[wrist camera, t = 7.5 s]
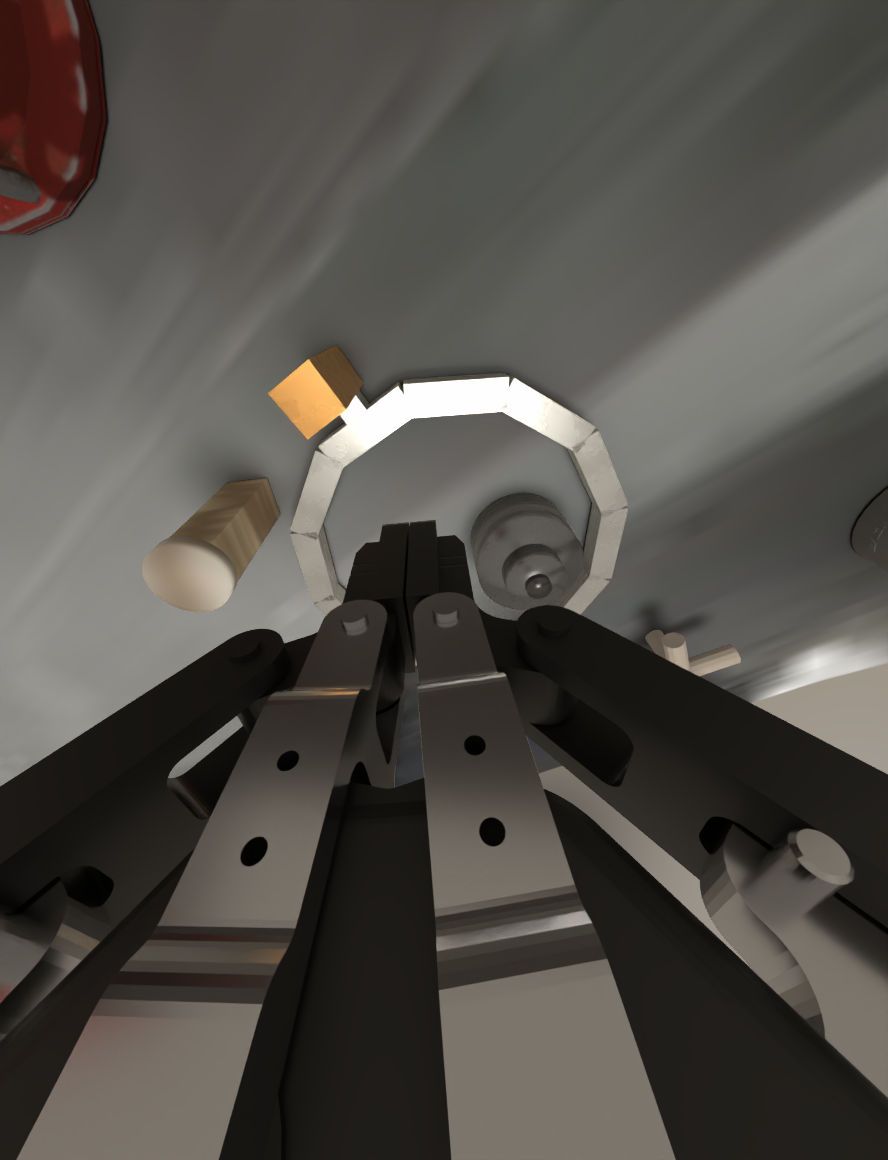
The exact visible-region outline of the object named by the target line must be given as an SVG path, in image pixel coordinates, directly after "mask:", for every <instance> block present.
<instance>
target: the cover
mask: <svg viewBox="0 0 888 1160" xmlns="http://www.w3.org/2000/svg"><path fill="white" fill-rule="evenodd" d="M471 548H472V552H473V556H474V561H475V565H476V569H477V574H478V578H479V582H480V585H481V587H482V589H483V591H484V592H485V594H486V595H487V596H488V597H489V598H490V599H491V600H493V601H494V602H496V603H497V604H499V605H502V606H504V607H508V608H512V609H531V608H533V607H537V606H543V605H548V604H550V603H552V602H553V601H555V600H556V599H558V598H560V597H561V596H562V595H564V594H565V593H566V592H567V591H568V590H569V589H570V588H571V587H572V586H573V584H574V583H575V582H576V580H577V578H578V576H579V575H580V572H581V569H582V565H583V551H582V547H581V544H580V542H579V540H578V539H577V537H576V536H575V535H574V533H573V532H572V530H571V529H570V527H569V526H568V524H567V523H566V522H565V520H564V519H563V517H562V516H561V514H560V513H559V512H558V510H557V509H556V507H555V506H554V505H553V504H552V503H551V502H549V501H548V500H547V499H545V498H543V497H541V496H538V495H534V494H528V493H518V494H512V495H508V496H505V497H502V498H500V499H498V500H496V501H494V502H493V503H491V504H490V505H489V506H487V507H486V508H485V509H484V510H483V511H482V513H481V514H480V515H479V516H478V518H477V519H476V521H475V523H474V525H473V528H472V532H471Z"/></svg>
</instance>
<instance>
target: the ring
mask: <svg viewBox="0 0 888 1160" xmlns="http://www.w3.org/2000/svg"><path fill="white" fill-rule="evenodd" d="M362 385H363V381H362V380H361V378H360V377H359V376H358V374H357V373H356V371H355V370H354V368H353V367H352V366H351V364H350V363H349V361H348V360H347V359H346V357H345V356H344V354H343V353H342V351H341V350H340V349H339V347H338V346H337V345H335V346H333V347H331V348H329V349H327V350H325V351H323V352H321V353H320V354H318V355H316V356H314V357H312V358H310V359H308V360H307V361H306V362H305V363H303V364H302V365H301V366H300V367H299V368H298V369H296V370H295V371H294V372H293V373H292V374H290V375H289V376H288V377H287V378H286V379H285V380H283V381H282V382H281V383H280V384H279V385H277V386H276V387H275V388H274V389H273V390H272V391H270V392H269V393H268V394H269V395H270V396H271V397H272V399H273V400H274V401H275V402H276V403H277V405H278V406H279V407H280V408H281V409H282V410H283V412H284V413H285V414H286V415H287V416H288V417H289V419H290V420H291V421H292V422H293V423H294V424H295V426H296V427H297V428H298V429H299V430H300V432H301V433H302V434H303V435H304V436H305V437H306V439H307V440H308V439H309V438H310V437H312V436H313V435H314V434H315V433H317V432H318V431H319V430H321V429H322V428H323V427H324V426H326V425H327V424H328V423H330V422H331V421H332V420H334V419H335V418H336V417H337V416H339V415H340V416H341V418H342V419H343V420H344V421H345V423H343V424H342V425H341V426H339V427H338V428H337V429H336V430H334V431H333V432H332V433H330V434H329V435H328V436H326V437H325V438H324V439H323V441H322V442H321V443H320V445H319V446H318V448H317V449H316V451H315V454H314V457H313V460H312V463H311V466H310V469H309V473H308V476H307V479H306V482H305V485H304V488H303V491H302V494H301V498H300V501H299V504H298V507H297V510H296V513H295V516H294V519H293V523H292V526H291V529H290V530H291V531H292V532H291V533H290V536H291V539H292V542H293V545H294V548H295V551H296V554H297V557H298V561H299V564H300V567H301V570H302V573H303V576H304V579H305V583H306V586H307V589H308V592H309V595H310V598H311V601H312V602H315V603H314V606H315V607H316V608H318V609H319V610H320V611H321V612H322V613H323V614H324V615H325V616H326V615H327V614H328V613H329V612H330V611H331V610H333V609H334V608H336V607H337V606H339V605H341V604H342V603H343V600H344V596H345V592H346V591H345V590H344V589H343V588H342V587H341V586H340V585H339V584H338V581H337V578H336V574H335V570H334V566H333V562H332V558H331V554H330V551H329V547H328V543H327V539H326V535H325V531H324V528H323V522H324V519H325V517H326V514H327V511H328V508H329V506H330V503H331V500H332V498H333V495H334V492H335V489H336V487H337V484H338V481H339V479H340V476H341V473H342V470H343V468H344V467H345V466H346V465H348V464H349V463H350V462H352V461H353V460H355V459H356V458H357V457H359V456H360V455H362V454H363V453H364V452H366V451H367V450H368V449H370V448H371V447H373V446H374V445H375V444H377V443H378V442H380V441H381V440H382V439H384V438H385V437H386V436H388V435H389V434H391V433H392V432H393V431H395V430H396V429H398V428H399V427H400V426H402V425H403V424H404V423H406V422H407V421H409V420H410V419H411V418H419V417H433V416H447V415H461V414H475V413H489V412H504V413H506V414H508V415H509V416H511V417H513V418H515V419H517V420H518V421H520V422H522V423H524V424H525V425H527V426H529V427H531V428H533V429H534V430H536V431H538V432H540V433H542V434H543V435H545V436H547V437H549V438H551V439H552V440H554V441H556V442H558V443H560V444H561V445H563V446H565V447H567V450H568V452H569V454H570V456H571V458H572V460H573V463H574V465H575V467H576V469H577V471H578V474H579V476H580V478H581V480H582V482H583V485H584V487H585V489H586V491H587V493H588V495H589V498H590V500H591V502H592V508H591V514H590V519H589V525H588V530H587V536H586V542H585V547H584V553H583V565H582V569H581V572H580V575H579V576H578V578H577V580H576V582H575V583H574V584H573V586H572V587H571V588H570V589H569V590H568V591H567V592H566V593H565V594H564V595H562V596H561V597H560V598H558V599H556V600H555V601H553V602H552V603H550V604H548V605H553V606H560V607H564V608H567V609H570V610H572V611H574V612H576V613H578V614H581V613H582V612H583V611H584V610H585V609H586V608H587V607H588V605H589V604H590V603H591V602H592V601H593V600H594V599H595V598H596V596H597V595H598V594H599V593H600V592H601V591H602V590H603V589H604V587H605V586H606V585H607V584H608V583H609V582H610V581H609V580H608V579H609V578H612V574H613V570H614V566H615V562H616V558H617V554H618V549H619V545H620V541H621V537H622V533H623V529H624V524H625V520H626V516H627V512H628V508H627V507H626V505H628V503H627V500H626V498H625V495H624V493H623V490H622V488H621V485H620V483H619V480H618V478H617V475H616V472H615V470H614V467H613V465H612V462H611V460H610V457H609V455H608V452H607V450H606V447H605V445H604V442H603V440H602V437H601V435H600V432H599V430H598V429H596V428H595V426H594V425H592V424H591V423H589V422H588V421H586V420H585V419H583V418H582V417H580V416H578V415H577V414H575V413H573V412H572V411H570V410H568V409H567V408H565V407H563V406H561V405H560V404H558V403H556V402H555V401H553V400H551V399H550V398H548V397H546V396H545V395H543V394H541V393H540V392H538V391H536V390H535V389H533V388H531V387H530V386H528V385H526V384H525V383H523V382H521V381H520V380H518V379H516V378H515V377H513V376H511V375H510V374H508V375H506V374H504V373H488V374H474V375H459V376H445V377H430V378H415V379H404V383H403V386H404V388H403V387H402V385H401V383H400V382H397V383H396V384H395V385H393V386H392V387H391V388H389V389H388V390H387V391H385V392H384V393H383V394H381V395H380V396H379V397H378V398H376V399H375V400H374V401H372V402H371V403H370V404H369V402H368V401H367V400H366V398H365V397H364V396H363V394H362V393H361V391H360V390H359V389H360V388H361V386H362ZM415 665H416V666H417V663H416V662H415Z"/></svg>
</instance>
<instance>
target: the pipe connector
mask: <svg viewBox="0 0 888 1160" xmlns="http://www.w3.org/2000/svg"><path fill="white" fill-rule="evenodd" d="M645 639H646V641H647V642H648V644H649V645H650V647H651V648H652V650H653V651H654V653H655V654H657V655H659V656H661V657H663V658H665V659H667V660H668V661H670V662H672V663H674V664H676V665H678V666H680V667H682V668H684V669H686V670H688V671H690V672H692V673H693V674H695V675H697V676H701V675H704V674H707V673H710V672H713V671H716V670H719V669H722V668H725V667H728V666H731V665H734V664H737V663H740V662H741V659H740V656H739V654H738V652H737V651H736V649H735V648H734V647H733V646H732V645H730V644H728V645H725V646H722V647H719V648H716V649H714V650H711V651H708V652H705V653H702V654H699V655H696V656H693V657H691V658H688V654H687V649H686V643H685V639H684V636H682V635H681V634H679V633H674V632H673V633H667V634H666V635H664V634H663V632H662V631H661V630H653V631H651V632H649V633H648V634H647V635H646V637H645Z"/></svg>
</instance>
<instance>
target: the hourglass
mask: <svg viewBox="0 0 888 1160" xmlns="http://www.w3.org/2000/svg"><path fill="white" fill-rule="evenodd" d="M105 125H106V110H105V99H104V88H103V77H102V66H101V56H100V45H99V38H98V35H97V32H96V28H95V25H94V22H93V18H92V15H91V12H90V9H89V5H88V2H87V0H0V234H23V235H29V234H31V233H33V232H35V231H37V230H40V229H42V228H44V227H46V226H48V225H51V224H53V223H55V222H57V221H59V220H62V219H64V218H66V217H68V216H69V214H70V213H71V212H72V210H73V209H74V207H75V206H76V205H77V203H78V202H79V200H80V199H81V198H82V196H83V195H84V193H85V192H86V190H87V189H88V188H89V186H90V185H91V183H92V182H93V181H94V179H95V176H96V170H97V165H98V160H99V155H100V150H101V145H102V140H103V135H104V130H105Z"/></svg>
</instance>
